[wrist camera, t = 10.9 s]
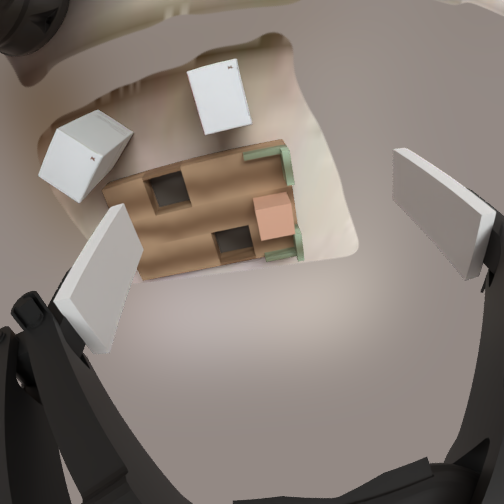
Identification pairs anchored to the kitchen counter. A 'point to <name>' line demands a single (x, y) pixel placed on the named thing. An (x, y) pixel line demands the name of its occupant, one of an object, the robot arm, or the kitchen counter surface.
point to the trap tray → (207, 209)
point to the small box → (219, 96)
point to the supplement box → (83, 153)
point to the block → (274, 216)
